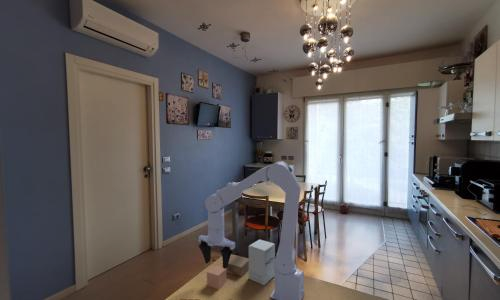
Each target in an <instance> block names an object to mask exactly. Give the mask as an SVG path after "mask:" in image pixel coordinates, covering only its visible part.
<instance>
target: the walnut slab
mask: <svg viewBox="0 0 500 300" xmlns="http://www.w3.org/2000/svg"><path fill="white" fill-rule="evenodd" d="M226 270H227V274H230V275H233V276H237V277H240V278H242V277H243V276H244V275H245V274H246V273H248V272H249V257H248V258H247V257H244V256H240V255H236V254H231V256H230V259H229V263H228V267H226Z"/></svg>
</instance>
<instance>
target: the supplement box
mask: <svg viewBox="0 0 500 300" xmlns="http://www.w3.org/2000/svg"><path fill="white" fill-rule="evenodd" d="M275 246H276V244H275V243H273V242H270V241H266V240H263V239H258V240H256V241H254V242H253V243H251V244H249V245H248V259H249V270H248V279H249V280H252V281H254V282H256V283H258V284H260V285H262V286H266V284H267V283H268V282H269V281H271V280H272V279H273V278H275V266H274V259H275V258H276V256H275V255H276V251H275V249H276V247H275Z"/></svg>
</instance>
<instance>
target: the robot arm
mask: <svg viewBox="0 0 500 300" xmlns="http://www.w3.org/2000/svg"><path fill="white" fill-rule="evenodd" d="M269 181H270V182H272V183H273V184H275V185H276V186H278V187H279V188H280V189H281V190H282V191H283V192H284V193H285V197H284V205H283V213H282V221H281V222H282V223H281V232H280V239H279V240H280V241H279V245H278V248H277V252H276V254H275V255H276V256H275V259H274V266H275V276H274V289H273V290H272V293H271V294H270V298H271V299H273V300H302V299H303V297H304V296H305V295H304V294H305V272H304V271H302V270H300V269H298V268H297V265H296V263H295V259H296V255H297V251H296V248H295V241H296V240H295V239H296V238H295V237H296V230H297V221H298V213H299V206H300V205H299V204H300V196H301V190H302V189H301V185H300V183H299V181H298V178H297V176H296V175H295V173H294V169H293V168H292V166H290V165H289V164H288V163H287V162H286V161H281V160H278V161H276V162H274V163H273V164H269V165H267V166H265V167H263V168H262V167H261V168H260V169H258V170H256V171H255V172H254V173H252V174H250V175H249V176H247V177H246V178H244V179H243V180H241V181H240V182H235V181H233V182H231V181H230V182H227V183H226V184H225V185H226V186H224V187H222V188H221V189H217V190H215V193H213V194H211V195H209V196H207V197H206V199H205V201H204V206H205V208H206V210H207V235H204V234H201V235H199V236H198V242H199V243H200V244H199V245H198V248H199V249H200V251H201V253H202V255H203V258H204V263H205V264H207V265H208V264H209V263H210V262H211V259H212V257H211V255H212V253H211V252H212V247H213V246H219V247H223V248H222V249H221V250H220V255H221V257H222V259H221V260H222V267H223V268H224V269H225V268H226V267H228V263H229V259H230V257H231V256H232V253H233V251H234V249H235V248H236V242H235V241H233V240H229V239H228V238H226V237H225V207H226V206H227V205H229V204H230V203H233V202H234V201H236V200H238V199H239V198H241V197H242V196H243V192H244V191H245V190H247V189H249V188H251V187H252V186H255V185H256V184H258V183H260V182H266V183H268V182H269Z"/></svg>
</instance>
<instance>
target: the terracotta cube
mask: <svg viewBox="0 0 500 300" xmlns="http://www.w3.org/2000/svg"><path fill="white" fill-rule="evenodd" d="M227 275H228V273H227V270H226V268H225V269H224V268H223V266H219V265H216V264H215V265H213V267H211V268H210V269H209V270H207V271H206V286H207V287H211V288H214V289H216V290H220V289H221V288H222V287H223V286H224V285H225V284H226V283H228V282H227V281H228V280H227V278H228V277H227Z"/></svg>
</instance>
